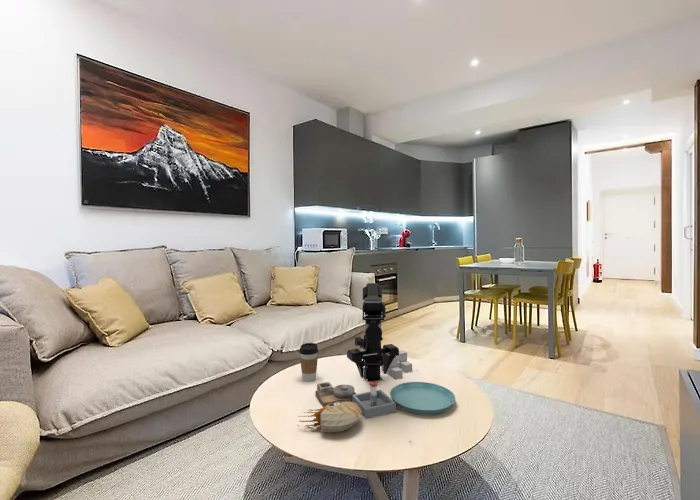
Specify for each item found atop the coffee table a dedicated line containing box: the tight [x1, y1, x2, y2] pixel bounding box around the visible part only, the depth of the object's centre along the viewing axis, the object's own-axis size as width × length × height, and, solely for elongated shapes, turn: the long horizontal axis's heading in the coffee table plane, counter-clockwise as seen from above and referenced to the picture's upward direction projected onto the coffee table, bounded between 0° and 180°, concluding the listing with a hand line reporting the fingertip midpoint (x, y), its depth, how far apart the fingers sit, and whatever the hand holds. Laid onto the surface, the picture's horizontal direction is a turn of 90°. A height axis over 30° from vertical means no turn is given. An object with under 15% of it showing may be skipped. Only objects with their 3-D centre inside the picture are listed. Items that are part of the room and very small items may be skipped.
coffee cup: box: [298, 342, 319, 383], centre depth 158 cm, size 8×8×15 cm
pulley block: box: [314, 381, 357, 408], centre depth 140 cm, size 14×11×5 cm
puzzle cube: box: [380, 349, 413, 381], centre depth 165 cm, size 12×12×8 cm
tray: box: [352, 389, 397, 419], centre depth 133 cm, size 12×12×3 cm
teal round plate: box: [389, 381, 456, 416], centre depth 137 cm, size 24×24×3 cm
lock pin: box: [368, 380, 378, 407], centre depth 132 cm, size 3×3×9 cm
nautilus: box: [297, 401, 362, 433], centre depth 120 cm, size 8×22×15 cm
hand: (373, 375), depth 132 cm, fingers open, 9 cm apart
